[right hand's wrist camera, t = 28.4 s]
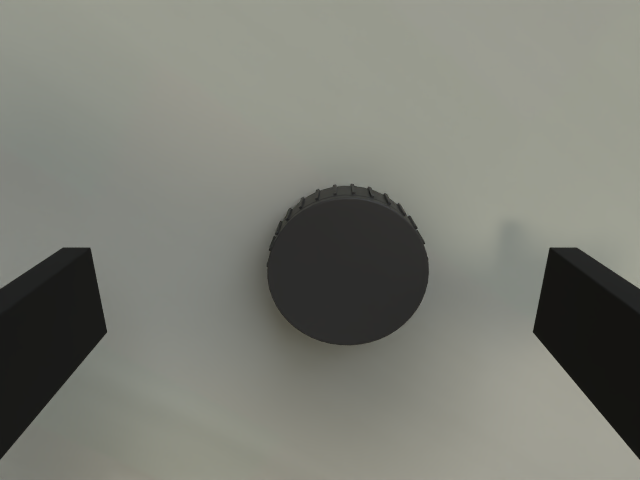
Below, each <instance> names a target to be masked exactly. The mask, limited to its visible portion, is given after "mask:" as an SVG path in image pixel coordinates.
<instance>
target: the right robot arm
mask: <svg viewBox="0 0 640 480" xmlns="http://www.w3.org/2000/svg"><path fill="white" fill-rule="evenodd" d="M106 333H107V329H106V324H105V319H104V314H103V309H102V304H101V299H100V294H99V289H98V284H97V279H96V274H95V269H94V264H93V259H92V254H91V249H90V248H62V249H60V250H59V251H57V252H56V253H54V254H53V255H51V256H50V257H48V258H47V259H45V260H44V261H42V262H41V263H39V264H38V265H36V266H35V267H33V268H32V269H30V270H28V271H27V272H25V273H24V274H22V275H21V276H19V277H18V278H16V279H15V280H13V281H12V282H10V283H9V284H7V285H6V286H4V287H3V288H1V289H0V459H1V458H2V457H3V456H4V455H5V453H6V452H7V451H8V450H9V449H10V447H11V446H12V445H13V444H14V443H15V441H16V440H17V439H18V438H19V437H20V435H21V434H22V433H23V432H24V431H25V429H26V428H27V427H28V426H29V425H30V424H31V422H32V421H33V420H34V419H35V418H36V416H37V415H38V414H39V413H40V412H41V410H42V409H43V408H44V407H45V406H46V404H47V403H48V402H49V401H50V400H51V398H52V397H53V396H54V395H55V394H56V392H57V391H58V390H59V389H60V388H61V387H62V385H63V384H64V383H65V382H66V381H67V379H68V378H69V377H70V376H71V375H72V373H73V372H74V371H75V370H76V369H77V367H78V366H79V365H80V364H81V363H82V361H83V360H84V359H85V358H86V357H87V356H88V354H89V353H90V352H91V351H92V350H93V348H94V347H95V346H96V345H97V344H98V342H99V341H100V340H101V339H102V338H103V336H104V335H105V334H106ZM533 333H534V334H535V335H536V336H537V338H538V339H539V340H540V341H541V342H542V344H543V345H544V346H545V347H546V348H547V350H548V351H549V352H550V353H551V354H552V356H553V357H554V358H555V359H556V360H557V361H558V363H559V364H560V365H561V366H562V367H563V369H564V370H565V371H566V372H567V373H568V375H569V376H570V377H571V378H572V379H573V381H574V382H575V383H576V384H577V385H578V387H579V388H580V389H581V390H582V391H583V392H584V394H585V395H586V396H587V397H588V398H589V400H590V401H591V402H592V403H593V404H594V406H595V407H596V408H597V409H598V410H599V412H600V413H601V414H602V415H603V416H604V418H605V419H606V420H607V421H608V422H609V424H610V425H611V426H612V427H613V428H614V429H615V431H616V432H617V433H618V434H619V435H620V437H621V438H622V439H623V440H624V441H625V443H626V444H627V445H628V446H629V447H630V449H631V450H632V451H633V452H634V453H635V455H636V456H637V457H638V458H639V459H640V289H639V288H637V287H636V286H634V285H633V284H631V283H630V282H628V281H627V280H625V279H624V278H622V277H621V276H619V275H618V274H616V273H615V272H613V271H612V270H610V269H608V268H607V267H605V266H604V265H602V264H601V263H599V262H598V261H596V260H595V259H593V258H592V257H590V256H589V255H587V254H586V253H584V252H583V251H581V250H580V249H578V248H550V249H549V254H548V259H547V264H546V269H545V274H544V279H543V284H542V289H541V294H540V299H539V304H538V309H537V314H536V319H535V324H534V329H533Z"/></svg>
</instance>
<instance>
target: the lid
mask: <svg viewBox="0 0 640 480" xmlns="http://www.w3.org/2000/svg"><path fill="white" fill-rule="evenodd" d="M416 229H417V226H416V225H415V223H414V221H413V220H412V218H411V216H407V215H406V213H405V211H404V210H403V208H402V206H401V205H400V204H399V203H398V204H396V203H394V202H393V201H392V200H391V199H389V197H388V195H387V194H385V193H384V195H382V194H380V193H378V192H376V191H373V190H372V188H371V187H368V189H366V188H362V187H355V186H354V184H351V186H339V187H336V185H333V187H332V188H328V189H324V190H321V191H320V190H319V189H318V190H316V193H314V194H312V195H310V196H308V197H306V198H304V197H303V198H301V201H300V202H299V203H298V204H297V205H296V206H295V207H294V208H293V209H291V208H290V209H289V210H288V213H287V216H286V217H285V219H284V220H283V222H281V221H280V223H279V225H278V228H277V230H276V233H275V235H276V236H274V238H273V240H272V243H271V245H270V248H269V251H271V252H270V256H269V260H268V263H267V267H268V269H267V271H268V283H269V289H270V292H271V295H272V298H273V300H274V302H275V304H276V306H277V307H278V309H279V310H280V312H281V313H282V315H283V316H284V317H285V318H286V319H287V320H288V322H290V323H291V324H292V325H293V326H294V327H295V328H297V329H298V330H299V331H301V332H302V333H304V334H306V335H308V336H310V337H312V338H314V339H317V340H319V341H322V342H326V343H330V344H337V345H358V344H364V343H369V342H372V341H375V340H378V339H381V338H383V337H385V336H387V335H389V334H391V333H392V332H394V331H396V330H397V329H398V328H400V327H401V326H402V325H403V324H405V323H406V322H407V321H408V319H409V318H410V317H411V316H412V315H413V314H414V312H415V311H416V310H417V308H418V306H419V305H420V303H421V301H422V299H423V296H424V294H425V291H426V287H427V283H428V275H429V267H428V257H427V253H426V250H425V247H424V244H425V242H424V240H423V239H422V237H421V235H420V234H419V232H418V230H416Z"/></svg>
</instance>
